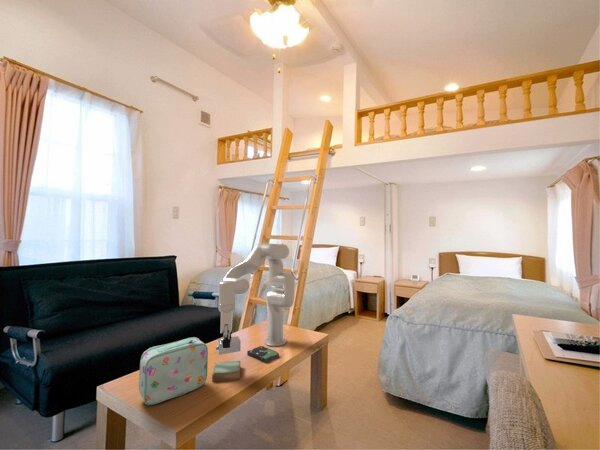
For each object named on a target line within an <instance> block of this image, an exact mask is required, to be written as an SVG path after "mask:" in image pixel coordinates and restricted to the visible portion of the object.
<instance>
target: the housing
mask: <svg viewBox="0 0 600 450" xmlns="http://www.w3.org/2000/svg"><path fill="white" fill-rule="evenodd" d="M229 339H230V348H223V337H220V338H218V339H216V346H215V351H217V354H218V355H219V356H220V355H226V354H230V353H231V354H233V353H238V352H241V339H240V337H239V336H231V337H229Z"/></svg>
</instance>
